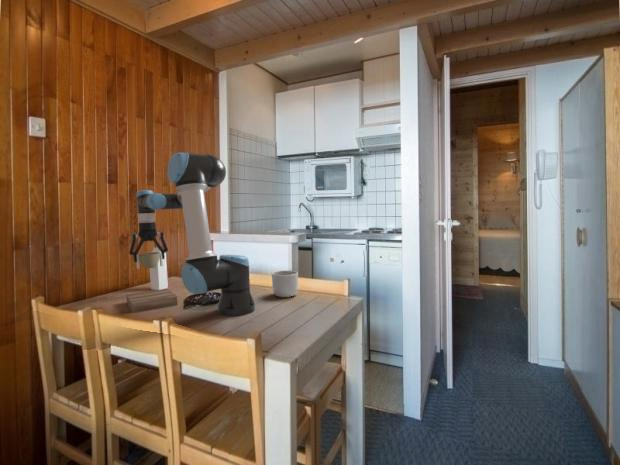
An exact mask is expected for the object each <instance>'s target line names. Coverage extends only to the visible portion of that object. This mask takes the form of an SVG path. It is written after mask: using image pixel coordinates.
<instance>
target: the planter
mask: <svg viewBox="0 0 620 465" xmlns="http://www.w3.org/2000/svg"><path fill="white" fill-rule="evenodd" d="M271 282H272V292H273V294H274V295H275V296H276V297H278V298H292V297H294V296H295V295H297V293H298V285H299V272H298V271H296V270H278V271H277V270H276V271H273V272H272V273H271ZM291 296H292V297H291Z"/></svg>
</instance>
